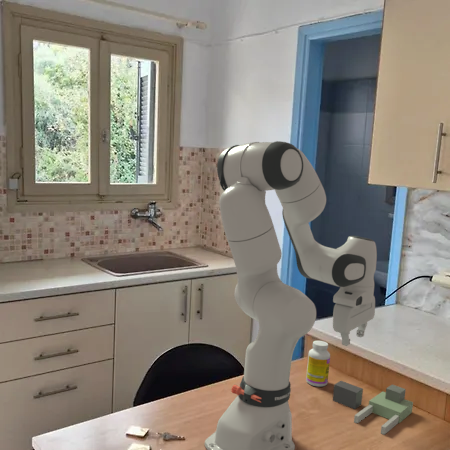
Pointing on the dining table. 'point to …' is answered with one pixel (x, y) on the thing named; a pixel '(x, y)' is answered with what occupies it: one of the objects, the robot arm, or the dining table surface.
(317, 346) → the supplement bottle
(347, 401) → the grey rectangular block
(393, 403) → the two-prong power plug
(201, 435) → the dining table surface
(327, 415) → the dining table surface
